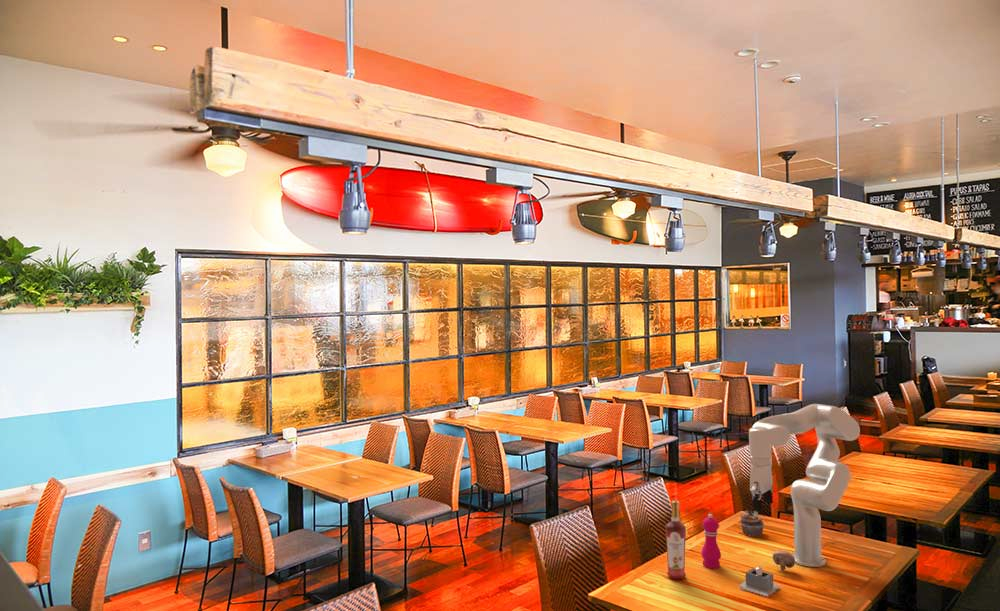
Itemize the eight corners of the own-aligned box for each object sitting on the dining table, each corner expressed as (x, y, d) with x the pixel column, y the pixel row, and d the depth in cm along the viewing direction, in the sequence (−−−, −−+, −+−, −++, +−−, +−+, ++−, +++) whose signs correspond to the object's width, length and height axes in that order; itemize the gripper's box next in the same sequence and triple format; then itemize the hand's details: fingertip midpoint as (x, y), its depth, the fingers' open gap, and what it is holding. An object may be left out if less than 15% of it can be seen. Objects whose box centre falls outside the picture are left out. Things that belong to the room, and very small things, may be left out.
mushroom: (769, 569, 244) (769, 548, 244) (779, 565, 247) (778, 545, 247) (788, 576, 237) (787, 554, 237) (797, 572, 241) (797, 551, 241)
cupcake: (743, 537, 278) (742, 514, 278) (738, 529, 288) (738, 507, 288) (766, 538, 277) (766, 514, 277) (761, 530, 286) (760, 508, 286)
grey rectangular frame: (745, 584, 228) (745, 572, 228) (752, 579, 232) (752, 568, 232) (766, 590, 223) (766, 578, 223) (773, 585, 227) (773, 574, 227)
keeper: (751, 580, 234) (751, 560, 235) (779, 588, 227) (779, 567, 227) (739, 588, 228) (739, 568, 228) (767, 597, 220) (767, 576, 220)
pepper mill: (722, 569, 244) (721, 517, 244) (702, 568, 245) (701, 516, 245) (719, 562, 251) (718, 511, 251) (700, 561, 252) (699, 510, 252)
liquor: (687, 574, 240) (685, 499, 240) (686, 582, 233) (684, 505, 233) (666, 572, 242) (665, 498, 243) (665, 580, 235) (664, 503, 236)
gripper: (760, 454, 247) (762, 498, 248) (741, 464, 235) (743, 510, 235) (780, 457, 242) (782, 502, 242) (761, 467, 230) (763, 515, 230)
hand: (763, 506), depth 239 cm, fingers open, 9 cm apart
